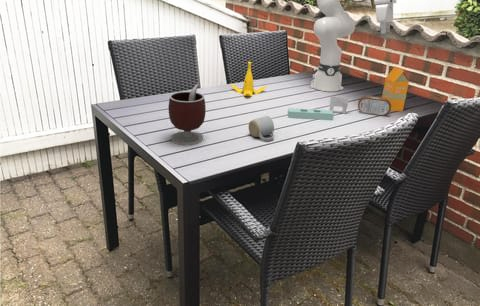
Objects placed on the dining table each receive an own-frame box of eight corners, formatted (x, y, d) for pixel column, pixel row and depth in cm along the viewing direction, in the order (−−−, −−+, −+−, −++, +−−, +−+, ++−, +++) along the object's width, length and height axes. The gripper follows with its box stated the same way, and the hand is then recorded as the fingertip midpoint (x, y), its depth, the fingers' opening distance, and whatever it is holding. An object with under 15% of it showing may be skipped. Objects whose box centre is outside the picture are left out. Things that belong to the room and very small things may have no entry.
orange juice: (394, 105, 214) (402, 66, 206) (403, 110, 206) (411, 70, 198) (380, 105, 213) (387, 66, 205) (388, 111, 205) (396, 70, 197)
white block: (329, 113, 199) (331, 97, 195) (328, 111, 200) (330, 96, 197) (346, 114, 198) (348, 98, 195) (345, 112, 200) (347, 97, 197)
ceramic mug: (246, 134, 170) (247, 116, 167) (262, 130, 175) (264, 113, 171) (262, 143, 163) (263, 125, 159) (278, 139, 167) (280, 121, 164)
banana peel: (246, 99, 213) (248, 67, 206) (230, 89, 228) (231, 58, 221) (274, 96, 220) (277, 64, 213) (256, 86, 235) (258, 57, 228)
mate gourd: (194, 148, 155) (194, 96, 147) (162, 141, 160) (160, 90, 152) (213, 134, 168) (213, 86, 160) (183, 128, 173) (182, 81, 165)
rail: (287, 114, 195) (288, 107, 194) (330, 116, 194) (331, 110, 193) (288, 117, 190) (288, 111, 189) (332, 120, 190) (333, 113, 189)
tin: (389, 115, 199) (392, 98, 196) (389, 117, 197) (392, 100, 193) (356, 111, 203) (359, 94, 200) (356, 112, 201) (359, 96, 197)
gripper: (382, 1, 191) (382, 32, 195) (373, 0, 174) (373, 34, 178) (396, -1, 188) (396, 31, 192) (389, -2, 171) (388, 33, 175)
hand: (385, 33), depth 185 cm, fingers open, 8 cm apart
